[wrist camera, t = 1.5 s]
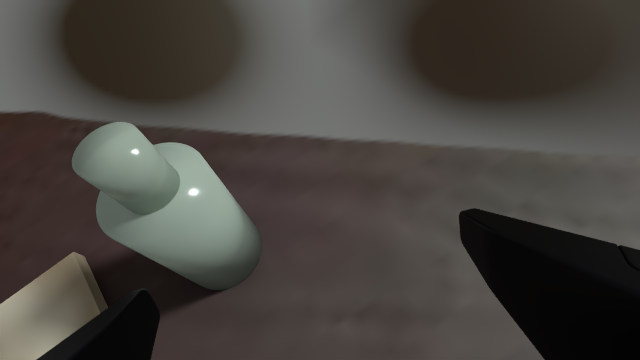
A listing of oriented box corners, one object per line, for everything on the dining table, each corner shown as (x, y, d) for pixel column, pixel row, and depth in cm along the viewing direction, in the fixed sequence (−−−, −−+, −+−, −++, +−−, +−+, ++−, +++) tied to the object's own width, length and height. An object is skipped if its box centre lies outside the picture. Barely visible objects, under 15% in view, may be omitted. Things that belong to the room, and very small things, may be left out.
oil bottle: (212, 308, 23) (60, 242, 12) (174, 249, 26) (21, 151, 15) (277, 251, 25) (198, 145, 13) (235, 202, 28) (139, 79, 16)
